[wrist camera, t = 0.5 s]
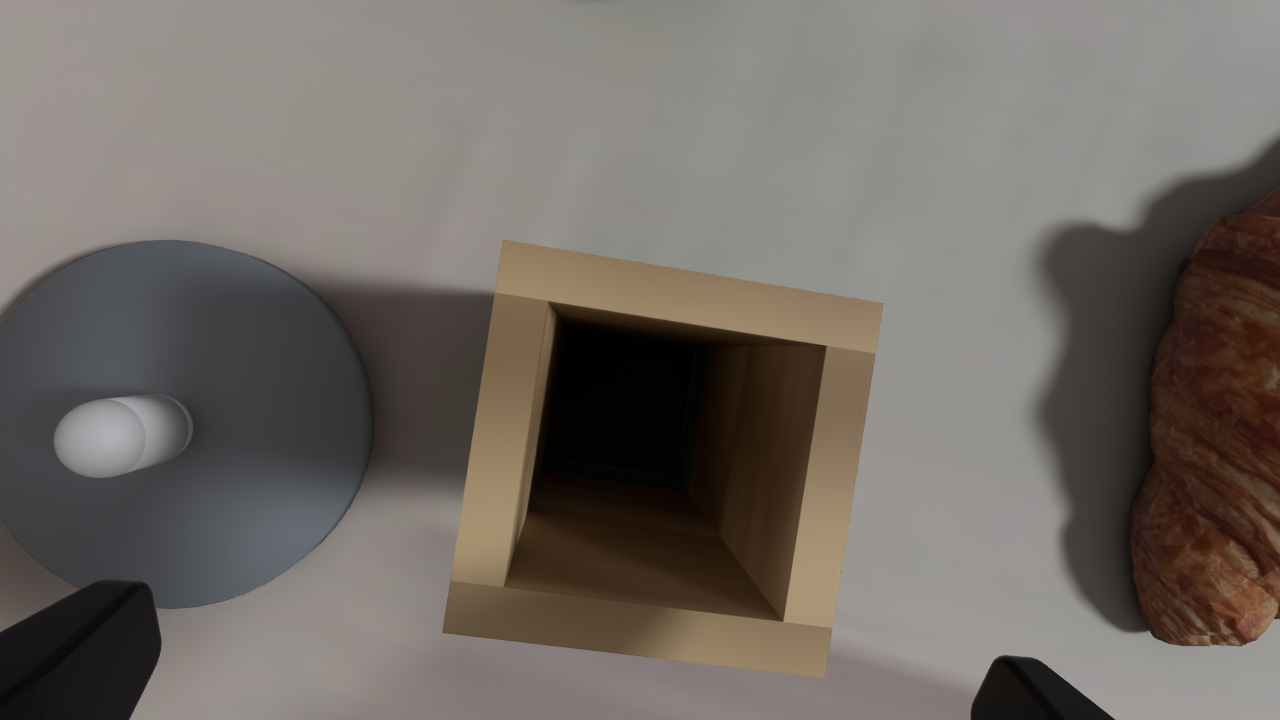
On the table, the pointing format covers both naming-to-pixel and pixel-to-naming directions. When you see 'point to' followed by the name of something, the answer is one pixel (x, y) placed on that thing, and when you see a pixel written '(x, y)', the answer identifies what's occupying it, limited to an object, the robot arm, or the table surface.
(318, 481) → the pin stand
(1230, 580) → the pastry
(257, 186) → the table surface
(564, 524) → the banded sleeve
